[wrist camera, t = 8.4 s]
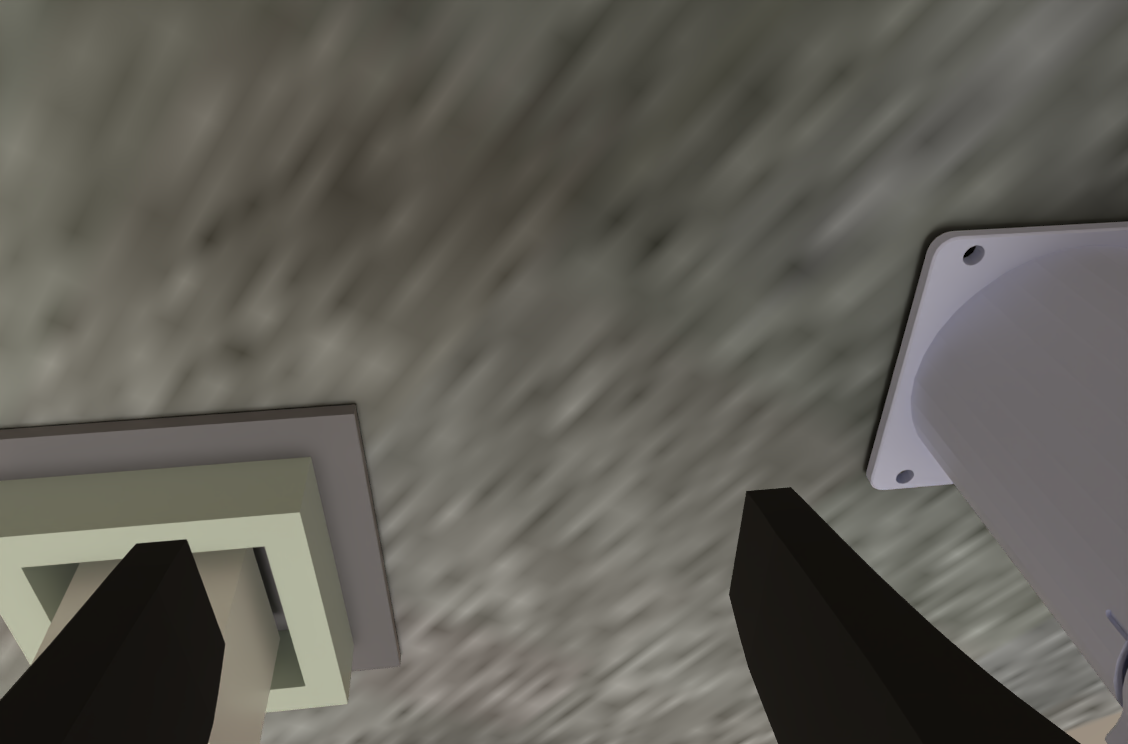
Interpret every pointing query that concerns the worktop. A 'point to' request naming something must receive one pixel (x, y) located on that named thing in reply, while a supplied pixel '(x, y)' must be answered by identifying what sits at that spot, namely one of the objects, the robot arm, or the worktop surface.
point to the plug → (241, 625)
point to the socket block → (210, 526)
